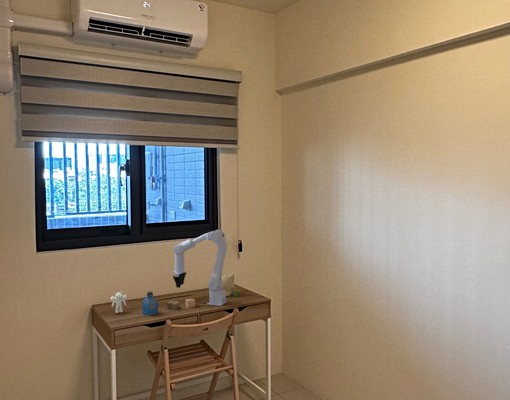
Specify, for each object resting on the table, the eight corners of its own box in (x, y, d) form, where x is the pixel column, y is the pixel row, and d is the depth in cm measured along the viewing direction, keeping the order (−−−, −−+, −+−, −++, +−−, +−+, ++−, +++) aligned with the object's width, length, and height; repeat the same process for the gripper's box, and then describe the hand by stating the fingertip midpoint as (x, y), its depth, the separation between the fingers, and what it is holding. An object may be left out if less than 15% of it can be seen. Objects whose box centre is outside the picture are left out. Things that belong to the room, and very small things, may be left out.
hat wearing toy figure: (126, 310, 269) (125, 289, 269) (127, 311, 266) (127, 290, 265) (110, 312, 265) (109, 291, 265) (111, 314, 262) (111, 292, 261)
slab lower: (179, 308, 274) (179, 304, 274) (174, 310, 269) (174, 307, 269) (171, 307, 276) (171, 304, 276) (167, 309, 271) (167, 306, 271)
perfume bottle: (151, 311, 267) (150, 290, 267) (158, 313, 263) (157, 291, 263) (142, 313, 262) (141, 292, 262) (149, 315, 259) (148, 294, 258)
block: (193, 305, 279) (192, 298, 279) (195, 307, 275) (195, 300, 275) (185, 305, 278) (185, 299, 277) (187, 307, 273) (187, 301, 273)
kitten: (239, 294, 304) (239, 271, 303) (237, 298, 294) (236, 274, 293) (217, 293, 306) (217, 270, 305) (213, 297, 296) (213, 273, 295)
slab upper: (179, 304, 274) (179, 301, 274) (174, 307, 269) (174, 303, 269) (171, 304, 276) (171, 300, 275) (167, 306, 271) (167, 303, 271)
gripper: (176, 261, 293) (176, 283, 293) (169, 266, 278) (170, 288, 279) (187, 261, 292) (187, 283, 293) (181, 266, 278) (182, 288, 278)
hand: (180, 286), depth 286 cm, fingers open, 7 cm apart
